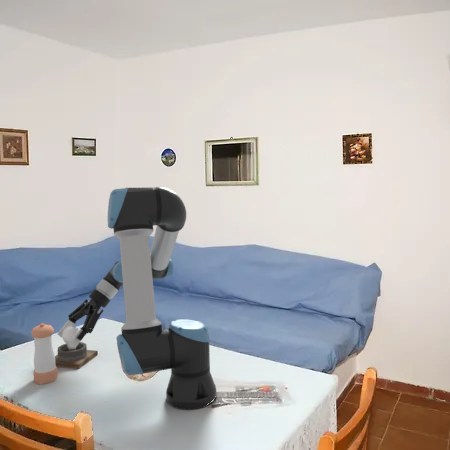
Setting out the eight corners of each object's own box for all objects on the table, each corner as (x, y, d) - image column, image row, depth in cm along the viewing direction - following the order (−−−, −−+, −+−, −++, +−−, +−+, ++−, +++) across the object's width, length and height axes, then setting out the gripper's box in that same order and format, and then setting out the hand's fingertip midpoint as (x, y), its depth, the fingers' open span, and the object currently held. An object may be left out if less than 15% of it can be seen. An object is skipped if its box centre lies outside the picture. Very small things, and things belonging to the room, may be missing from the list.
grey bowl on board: (78, 368, 159) (78, 355, 159) (46, 365, 163) (45, 352, 162) (97, 354, 172) (97, 341, 171) (67, 352, 175) (66, 339, 175)
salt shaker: (47, 372, 157) (44, 319, 155) (62, 377, 153) (58, 322, 151) (29, 381, 151) (25, 325, 149) (43, 385, 147) (39, 328, 145)
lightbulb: (64, 354, 169) (61, 325, 169) (81, 351, 171) (79, 323, 170) (63, 360, 163) (61, 330, 163) (81, 357, 165) (79, 328, 164)
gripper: (123, 306, 164) (84, 357, 157) (98, 293, 184) (63, 337, 177) (108, 295, 160) (68, 345, 153) (84, 282, 180) (48, 327, 173)
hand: (65, 341), depth 165 cm, fingers open, 13 cm apart
